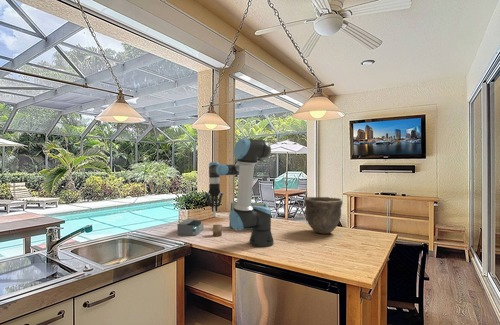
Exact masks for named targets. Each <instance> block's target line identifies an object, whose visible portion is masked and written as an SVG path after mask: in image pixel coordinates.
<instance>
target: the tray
mask: <svg viewBox="0 0 500 325" xmlns="http://www.w3.org/2000/svg"><path fill="white" fill-rule="evenodd" d="M204 224H205V223H204V222H201V224H200V225H199V226H198V227H196V228H195V231H193V235H196V236H197V235H199V234H200V233H201V232H203V231H204V230H203V229H205V228H204V227H205V226H204ZM200 231H201V232H200ZM199 232H200V233H199ZM198 233H199V234H198Z"/></svg>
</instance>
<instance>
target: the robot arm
mask: <svg viewBox="0 0 500 325" xmlns="http://www.w3.org/2000/svg"><path fill="white" fill-rule="evenodd" d="M233 148H234V149H233V155H234V158H236V160H237V161H236V163H235V164H222V163H219V162H218V161H217V162H216V161H212V162H209V163H208V177H209V178H208V188H209V189H208V192H206V193H205V196H206V199H207V203H208V207H211V211H212V212H213V214H212V216H213V217H214V218H215V217H217V212H218V208H219V207H220V206H221V203H222V199H223V195H224V192H222V191H221V188H220V180H221V179H220V176H238V180H237V181H238V182H237V194H236V200H237V201H236V202H237V204H236V205H235V206H234V211H231V210H230V211H231V212H229V214H228V219H229V223H230V224H231V226H232V227H233V228H232V229H233V230H235V231H244V230H247V229H251V228H252V230H251V234H250V237H249V240H248V241H249V245H250V246H252V247H257V248H258V247H259V248H265V247H266V248H268V247H271V246H273V245H274V243H275V242H274V238H273V237H274V236H273V234H272V227H271V226H272V225H271V224H272V218H271V217H272V210H271V208H270V207H269V206H268V207H263V206H251V202H252V200H251V199H253V198H252V197H253V187H254V186H253V183H254V173H255V171H254V170H255V165H256V164H258V163H259V162H264V161H265V160H267V159H268V158H269V157H270V155H271V154H272V147H271V144H270V143H269V142H268V141H266V140H265V139H258V138H256V139H255V138H240V139H238V140H237V141H236V142H235V144H234V147H233ZM218 196H219V197H218Z"/></svg>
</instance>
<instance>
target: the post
mask: <svg viewBox="0 0 500 325" xmlns="http://www.w3.org/2000/svg"><path fill="white" fill-rule="evenodd" d="M222 226H223V225H222V224H217V223H216V224H213V225H212V237H215V238H216V237H217V238H218V237H222V234H223V233H222V232H223V229H222V228H223V227H222Z"/></svg>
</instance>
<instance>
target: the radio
mask: <svg viewBox="0 0 500 325" xmlns="http://www.w3.org/2000/svg"><path fill="white" fill-rule="evenodd" d="M252 200H253V201H254V199H253V198H252V199H251V206H263V207H268V208H269V206H268V204H267V203H266V202H265V201H261V200H260V202H252ZM256 201H259V200H257V199H256ZM236 204H237V199H235V200H234V201H232V202H231V203H230V212H231V211H234V206H235V205H236ZM230 212H229V213H230ZM228 225H229V227H230V228H231V229H233V227H232V226H231V224H230V222H229V224H228ZM248 230H249V231H252V228H251V229H246V231H248Z"/></svg>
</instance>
